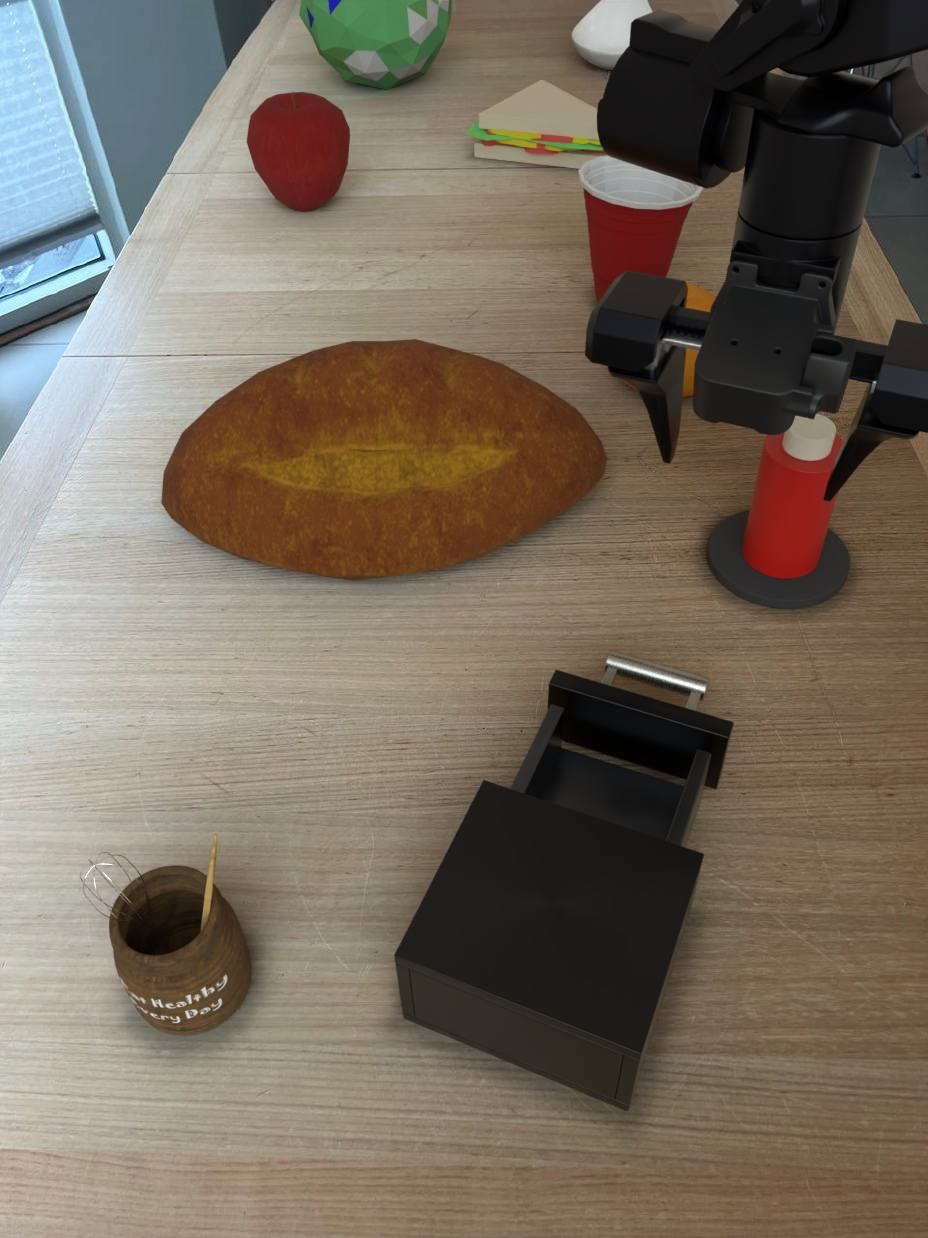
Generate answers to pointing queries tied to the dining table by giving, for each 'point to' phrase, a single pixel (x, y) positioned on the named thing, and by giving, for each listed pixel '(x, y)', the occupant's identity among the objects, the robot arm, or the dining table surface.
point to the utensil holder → (178, 947)
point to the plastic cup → (632, 218)
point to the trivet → (772, 590)
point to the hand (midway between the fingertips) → (746, 477)
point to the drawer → (627, 748)
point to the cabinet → (549, 941)
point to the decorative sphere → (378, 37)
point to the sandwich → (539, 129)
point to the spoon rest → (607, 30)
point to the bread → (379, 461)
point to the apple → (299, 148)
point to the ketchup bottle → (792, 499)
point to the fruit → (698, 301)
